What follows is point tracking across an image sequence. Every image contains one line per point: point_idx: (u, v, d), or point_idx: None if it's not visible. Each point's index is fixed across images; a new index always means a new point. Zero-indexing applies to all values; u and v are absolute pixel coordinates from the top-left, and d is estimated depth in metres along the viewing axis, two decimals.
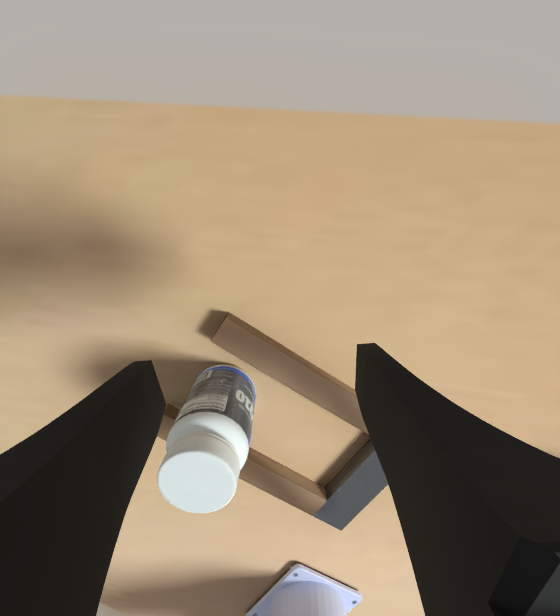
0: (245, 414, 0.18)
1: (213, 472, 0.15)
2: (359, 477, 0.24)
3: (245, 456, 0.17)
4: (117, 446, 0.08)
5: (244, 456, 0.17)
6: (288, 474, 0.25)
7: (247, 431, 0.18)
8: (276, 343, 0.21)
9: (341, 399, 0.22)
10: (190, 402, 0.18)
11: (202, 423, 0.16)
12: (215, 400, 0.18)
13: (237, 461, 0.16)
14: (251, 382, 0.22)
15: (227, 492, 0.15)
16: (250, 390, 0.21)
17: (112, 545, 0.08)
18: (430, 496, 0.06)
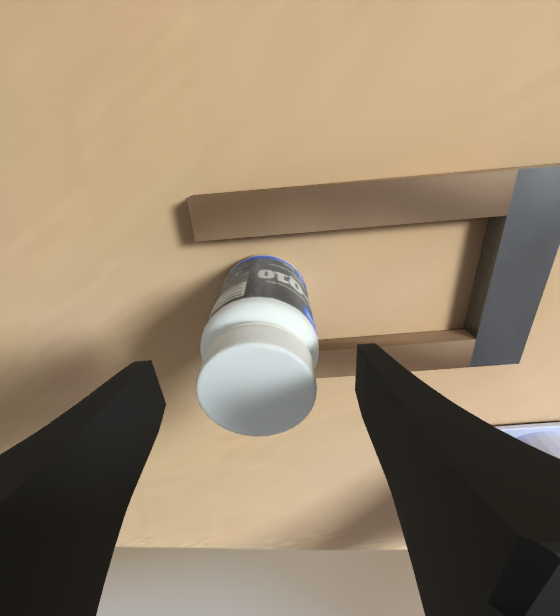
0: (281, 286, 0.12)
1: (262, 366, 0.09)
2: (503, 284, 0.16)
3: (309, 331, 0.11)
4: (117, 446, 0.08)
5: (306, 331, 0.11)
6: (405, 338, 0.18)
7: (293, 301, 0.12)
8: (273, 188, 0.15)
9: (406, 195, 0.14)
10: None
11: (221, 323, 0.11)
12: (230, 293, 0.12)
13: (292, 337, 0.10)
14: (281, 259, 0.16)
15: (302, 381, 0.10)
16: (282, 266, 0.15)
17: (112, 546, 0.08)
18: (430, 496, 0.06)
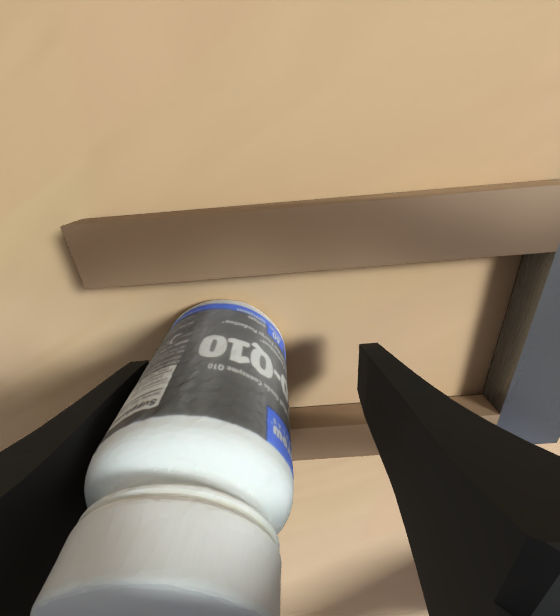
0: (232, 376, 0.07)
1: (158, 610, 0.04)
2: (542, 345, 0.11)
3: (273, 473, 0.06)
4: None
5: (267, 476, 0.06)
6: None
7: (247, 413, 0.07)
8: (201, 210, 0.10)
9: (404, 222, 0.09)
10: None
11: (108, 468, 0.06)
12: (144, 390, 0.07)
13: (230, 523, 0.05)
14: (246, 309, 0.11)
15: None
16: (246, 323, 0.10)
17: None
18: (434, 496, 0.06)
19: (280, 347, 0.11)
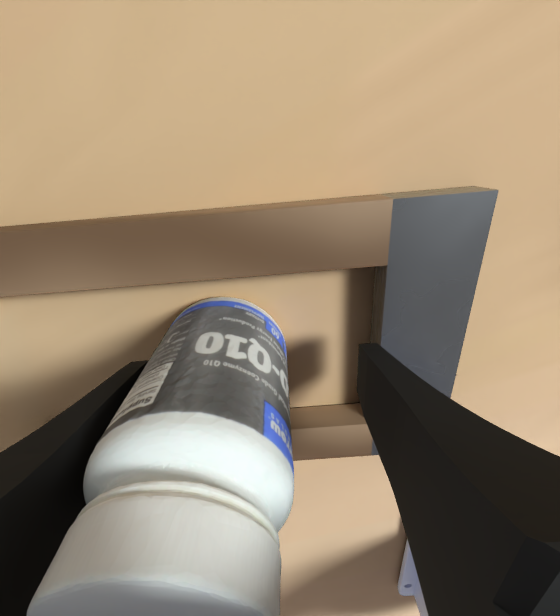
0: (228, 372, 0.07)
1: (152, 608, 0.04)
2: (398, 356, 0.11)
3: (271, 467, 0.06)
4: None
5: (264, 470, 0.06)
6: None
7: (243, 408, 0.07)
8: (38, 224, 0.10)
9: (227, 237, 0.09)
10: None
11: (104, 467, 0.06)
12: (140, 388, 0.07)
13: (224, 519, 0.05)
14: (244, 305, 0.11)
15: None
16: (244, 319, 0.10)
17: None
18: (433, 496, 0.06)
19: (279, 343, 0.11)
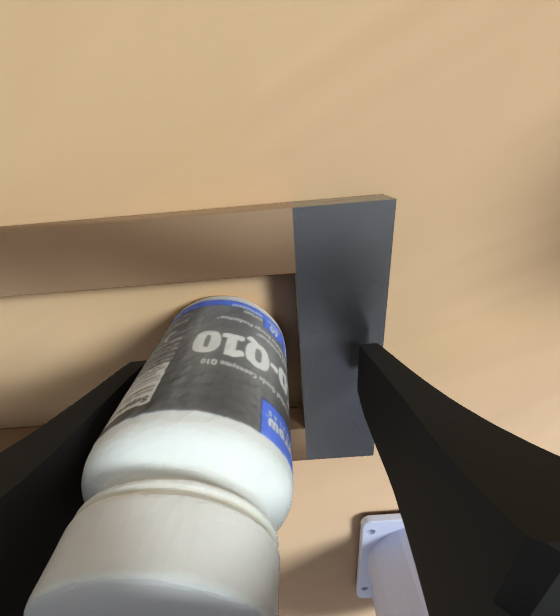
0: (225, 370, 0.07)
1: (148, 607, 0.04)
2: (320, 362, 0.11)
3: (269, 465, 0.06)
4: None
5: (262, 468, 0.06)
6: None
7: (240, 405, 0.07)
8: None
9: (132, 245, 0.09)
10: None
11: (101, 466, 0.06)
12: (138, 388, 0.07)
13: (220, 516, 0.05)
14: (242, 304, 0.11)
15: None
16: (241, 317, 0.10)
17: None
18: (434, 496, 0.06)
19: (278, 341, 0.10)
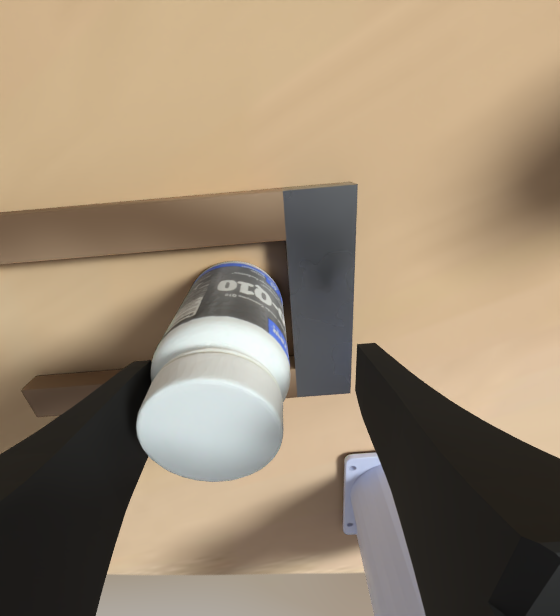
0: (242, 300, 0.11)
1: (211, 404, 0.08)
2: (306, 312, 0.15)
3: (274, 351, 0.10)
4: (117, 446, 0.08)
5: (270, 352, 0.09)
6: None
7: (255, 317, 0.10)
8: (29, 210, 0.13)
9: (166, 219, 0.13)
10: None
11: (168, 351, 0.09)
12: (183, 312, 0.10)
13: (248, 364, 0.08)
14: (249, 266, 0.14)
15: (263, 418, 0.08)
16: (249, 274, 0.13)
17: (112, 546, 0.08)
18: (430, 496, 0.06)
19: (277, 293, 0.14)
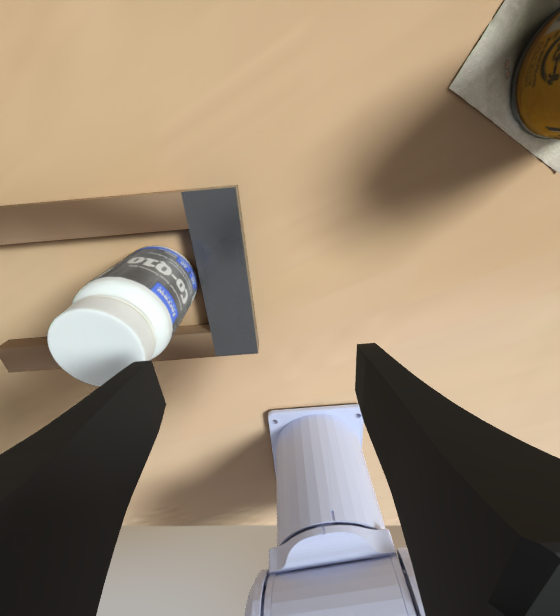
0: (140, 269, 0.15)
1: (91, 327, 0.12)
2: (212, 285, 0.19)
3: (152, 301, 0.14)
4: (117, 446, 0.08)
5: (148, 302, 0.14)
6: None
7: (142, 279, 0.14)
8: None
9: (97, 212, 0.17)
10: None
11: (78, 299, 0.14)
12: None
13: (121, 305, 0.13)
14: (166, 249, 0.18)
15: (127, 338, 0.12)
16: (162, 254, 0.18)
17: (112, 545, 0.08)
18: (430, 496, 0.06)
19: (186, 269, 0.18)
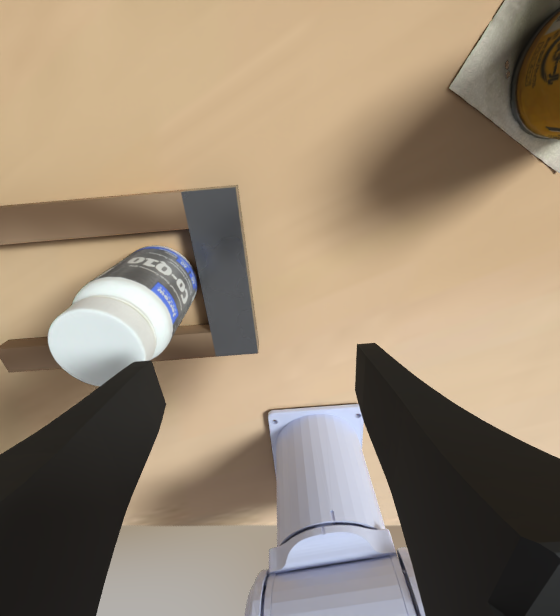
0: (140, 269, 0.15)
1: (92, 327, 0.12)
2: (212, 285, 0.19)
3: (152, 302, 0.14)
4: (117, 446, 0.08)
5: (148, 302, 0.14)
6: None
7: (143, 279, 0.14)
8: None
9: (97, 212, 0.17)
10: None
11: (78, 299, 0.14)
12: None
13: (122, 305, 0.13)
14: (166, 249, 0.18)
15: (128, 338, 0.12)
16: (162, 254, 0.18)
17: (112, 545, 0.08)
18: (430, 496, 0.06)
19: (186, 269, 0.18)
